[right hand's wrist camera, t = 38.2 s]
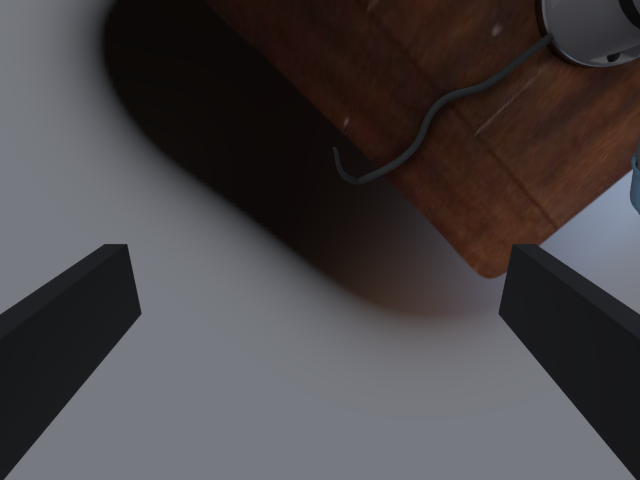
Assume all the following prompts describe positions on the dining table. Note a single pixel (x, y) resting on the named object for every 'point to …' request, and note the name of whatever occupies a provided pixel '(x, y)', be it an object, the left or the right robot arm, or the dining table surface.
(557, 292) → the right robot arm
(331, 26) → the dining table surface
